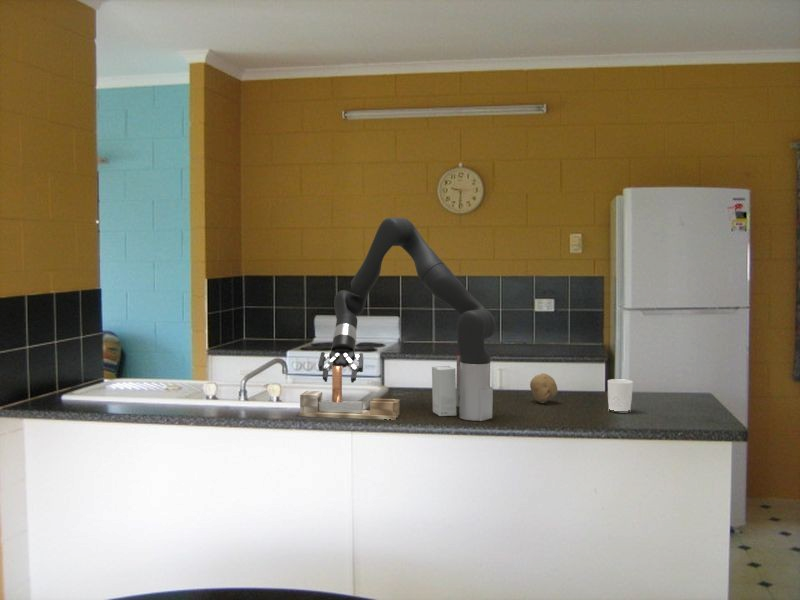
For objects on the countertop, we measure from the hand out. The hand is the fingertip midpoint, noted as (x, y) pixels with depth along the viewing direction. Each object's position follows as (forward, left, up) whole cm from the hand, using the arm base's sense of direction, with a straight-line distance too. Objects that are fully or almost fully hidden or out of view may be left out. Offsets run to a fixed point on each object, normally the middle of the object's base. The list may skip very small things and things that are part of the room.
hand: (338, 380), depth 256 cm
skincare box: (-27, -20, -10) cm, 35 cm away
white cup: (-67, -61, -10) cm, 91 cm away
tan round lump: (-41, -58, -10) cm, 72 cm away
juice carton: (-26, -36, -10) cm, 45 cm away
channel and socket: (-7, +2, -10) cm, 12 cm away
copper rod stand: (-3, +4, -9) cm, 10 cm away
